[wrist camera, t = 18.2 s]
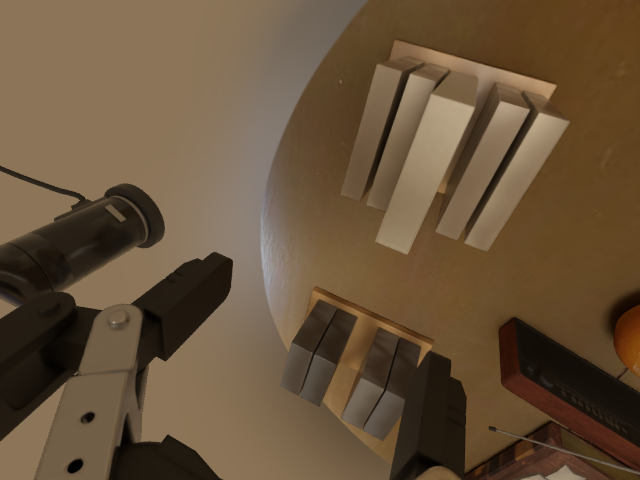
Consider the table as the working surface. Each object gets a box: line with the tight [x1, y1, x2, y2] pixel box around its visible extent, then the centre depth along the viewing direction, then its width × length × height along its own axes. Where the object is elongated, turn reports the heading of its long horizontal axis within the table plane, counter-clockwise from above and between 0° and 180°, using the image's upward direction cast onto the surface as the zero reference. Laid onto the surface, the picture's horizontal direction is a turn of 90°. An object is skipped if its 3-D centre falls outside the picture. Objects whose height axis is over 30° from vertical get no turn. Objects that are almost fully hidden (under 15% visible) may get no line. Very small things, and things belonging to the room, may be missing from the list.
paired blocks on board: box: [281, 287, 433, 441], centre depth 48 cm, size 18×12×10 cm, turn 77°
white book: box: [375, 71, 478, 254], centre depth 27 cm, size 2×10×15 cm, turn 167°
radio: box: [489, 318, 640, 475], centre depth 34 cm, size 19×3×15 cm, turn 66°
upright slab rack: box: [340, 39, 570, 252], centre depth 29 cm, size 14×12×12 cm
